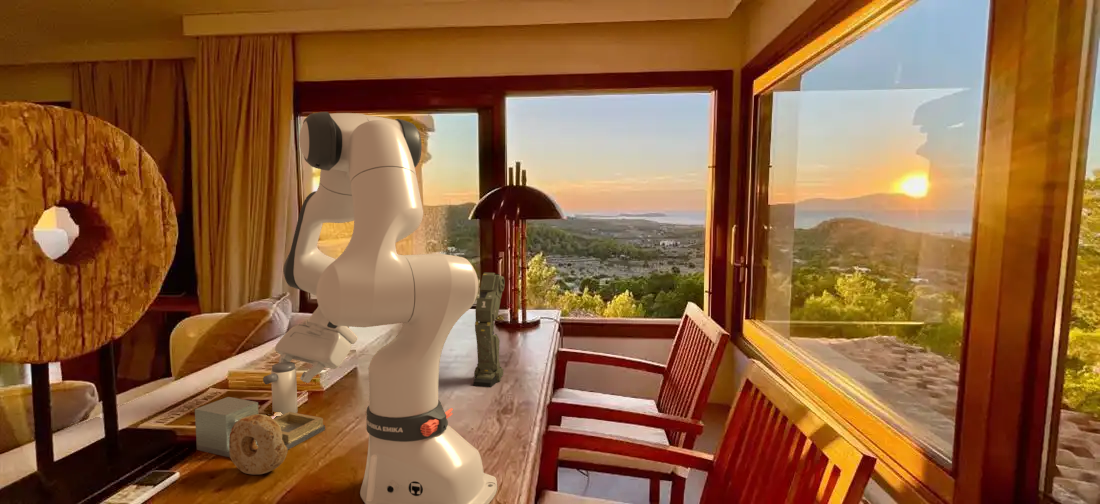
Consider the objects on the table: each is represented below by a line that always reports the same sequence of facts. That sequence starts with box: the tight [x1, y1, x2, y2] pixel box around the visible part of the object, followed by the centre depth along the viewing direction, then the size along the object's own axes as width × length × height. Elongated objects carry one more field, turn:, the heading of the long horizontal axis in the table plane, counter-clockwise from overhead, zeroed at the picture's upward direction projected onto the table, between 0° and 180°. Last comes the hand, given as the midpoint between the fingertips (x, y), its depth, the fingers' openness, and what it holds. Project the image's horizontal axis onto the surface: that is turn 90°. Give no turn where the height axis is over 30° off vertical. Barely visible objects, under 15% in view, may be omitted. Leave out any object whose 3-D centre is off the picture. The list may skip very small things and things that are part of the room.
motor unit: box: [194, 396, 326, 458], centre depth 107 cm, size 16×16×8 cm
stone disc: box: [229, 413, 289, 475], centre depth 94 cm, size 10×4×10 cm, turn 75°
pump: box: [262, 361, 298, 415], centre depth 119 cm, size 5×7×11 cm
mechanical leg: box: [472, 272, 506, 388], centre depth 145 cm, size 14×7×30 cm, turn 169°
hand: (290, 377), depth 122 cm, fingers open, 8 cm apart
